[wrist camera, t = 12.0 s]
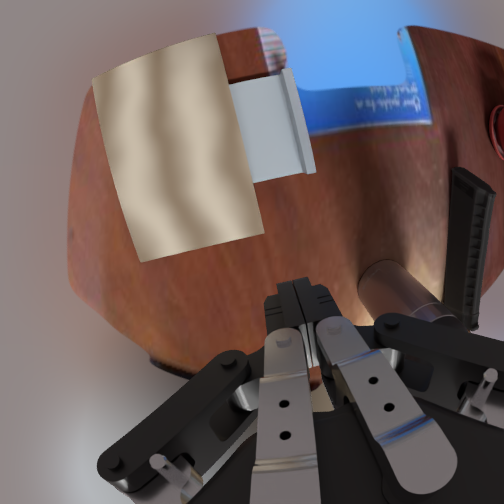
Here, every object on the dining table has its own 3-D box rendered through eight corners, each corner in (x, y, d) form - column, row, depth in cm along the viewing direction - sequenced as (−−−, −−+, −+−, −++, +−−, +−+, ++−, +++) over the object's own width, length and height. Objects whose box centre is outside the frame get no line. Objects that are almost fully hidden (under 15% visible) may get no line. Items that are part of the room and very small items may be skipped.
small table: (223, 65, 31) (215, 32, 20) (258, 207, 39) (264, 233, 28) (132, 95, 32) (91, 79, 21) (168, 230, 40) (140, 262, 28)
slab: (286, 75, 32) (291, 67, 29) (309, 169, 37) (316, 172, 34) (147, 112, 34) (136, 108, 30) (171, 203, 38) (163, 209, 35)
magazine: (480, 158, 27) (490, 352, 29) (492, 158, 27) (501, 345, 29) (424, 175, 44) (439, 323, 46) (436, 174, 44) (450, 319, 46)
